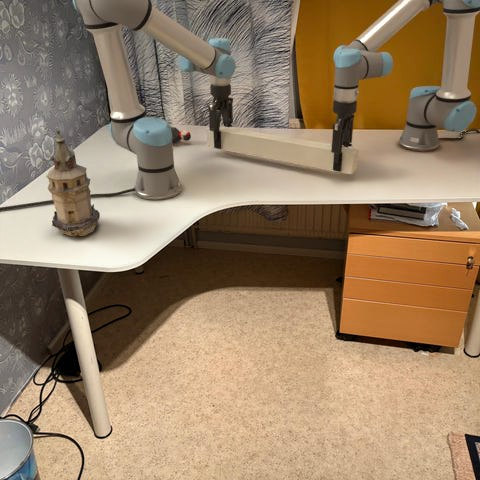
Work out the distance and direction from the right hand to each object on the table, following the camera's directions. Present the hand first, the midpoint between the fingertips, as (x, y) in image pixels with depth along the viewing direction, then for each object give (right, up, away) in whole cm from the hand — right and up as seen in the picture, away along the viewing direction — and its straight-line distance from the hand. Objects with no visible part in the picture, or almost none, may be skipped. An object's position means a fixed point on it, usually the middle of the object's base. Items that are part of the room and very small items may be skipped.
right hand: (340, 167), depth 184 cm
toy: (-69, +15, +37) cm, 80 cm away
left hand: (-41, +11, +21) cm, 48 cm away
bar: (-21, +5, +11) cm, 24 cm away
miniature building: (-81, -22, -28) cm, 89 cm away
